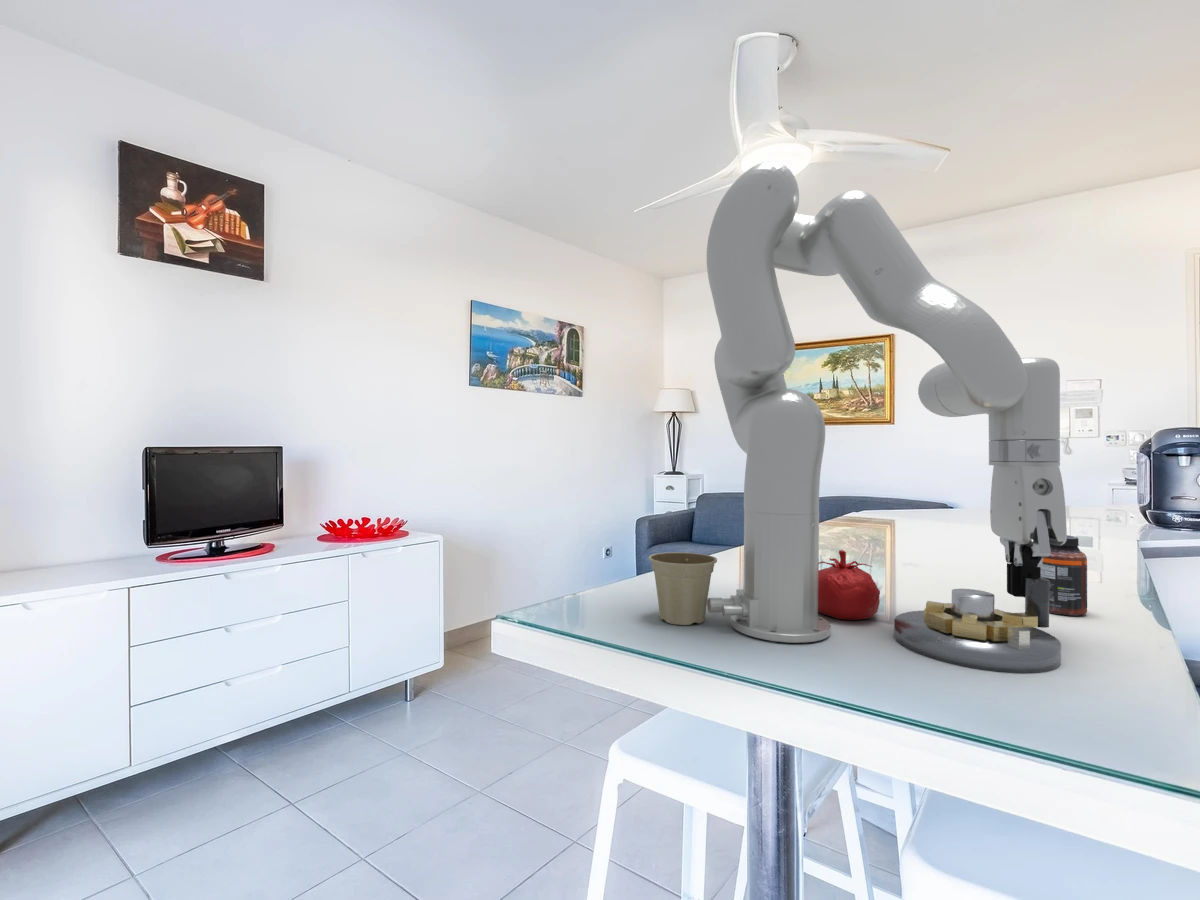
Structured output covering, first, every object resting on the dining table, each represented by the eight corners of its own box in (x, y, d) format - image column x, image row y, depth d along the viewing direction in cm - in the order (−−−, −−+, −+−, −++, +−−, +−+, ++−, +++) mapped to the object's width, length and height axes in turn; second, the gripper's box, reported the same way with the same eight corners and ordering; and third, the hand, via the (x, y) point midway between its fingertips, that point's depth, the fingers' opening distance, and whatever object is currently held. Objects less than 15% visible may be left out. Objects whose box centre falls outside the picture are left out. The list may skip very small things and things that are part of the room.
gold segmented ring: (967, 642, 65) (968, 591, 65) (907, 616, 75) (908, 572, 75) (1084, 637, 68) (1084, 588, 68) (1011, 613, 78) (1011, 570, 78)
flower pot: (643, 610, 86) (643, 551, 85) (706, 609, 86) (706, 551, 86) (654, 630, 76) (655, 564, 76) (725, 629, 77) (725, 563, 77)
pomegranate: (833, 627, 78) (834, 558, 78) (794, 607, 88) (794, 546, 88) (897, 623, 80) (898, 556, 80) (852, 604, 90) (853, 544, 90)
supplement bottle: (1068, 606, 90) (1069, 533, 90) (1097, 618, 84) (1098, 539, 84) (1027, 605, 91) (1028, 532, 91) (1053, 616, 85) (1054, 538, 85)
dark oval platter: (954, 674, 62) (955, 613, 62) (867, 626, 79) (868, 578, 79) (1102, 671, 63) (1102, 611, 63) (985, 624, 80) (985, 576, 80)
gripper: (1091, 455, 68) (1091, 613, 68) (1027, 454, 82) (1027, 584, 82) (1018, 455, 69) (1018, 609, 69) (968, 454, 84) (968, 581, 84)
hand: (1023, 595), depth 76 cm, fingers closed
